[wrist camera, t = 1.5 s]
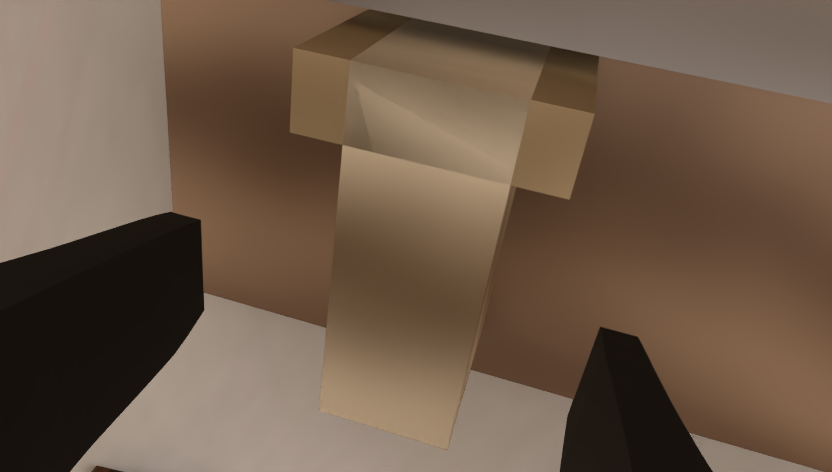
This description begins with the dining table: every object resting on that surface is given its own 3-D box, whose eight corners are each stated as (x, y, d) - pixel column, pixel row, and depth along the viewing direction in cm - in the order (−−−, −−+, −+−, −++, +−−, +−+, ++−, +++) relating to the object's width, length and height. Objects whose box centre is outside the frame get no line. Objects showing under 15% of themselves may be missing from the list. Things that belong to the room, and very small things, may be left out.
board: (1172, 545, 17) (1298, 693, 14) (195, 268, 21) (124, 333, 18) (1707, 101, 11) (2150, 189, 8) (177, -159, 15) (65, -171, 12)
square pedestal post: (517, 339, 18) (491, 463, 14) (346, 291, 19) (278, 397, 15) (599, 50, 14) (594, 114, 10) (376, 4, 14) (293, 48, 11)
